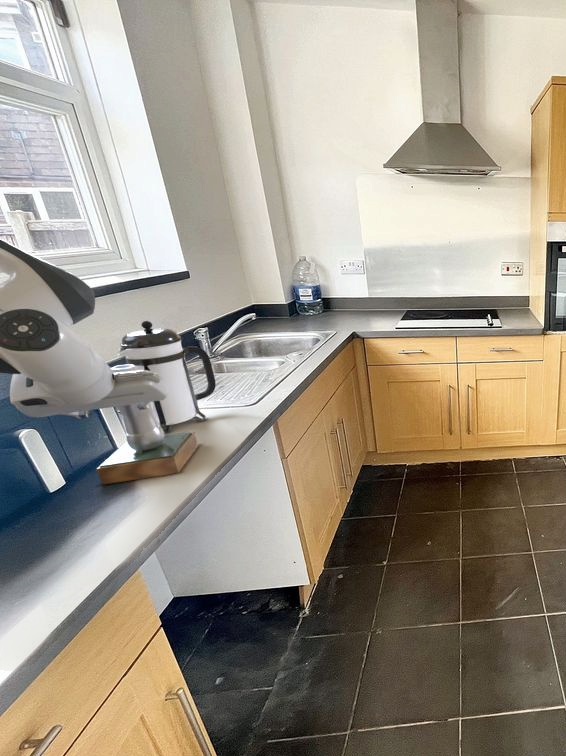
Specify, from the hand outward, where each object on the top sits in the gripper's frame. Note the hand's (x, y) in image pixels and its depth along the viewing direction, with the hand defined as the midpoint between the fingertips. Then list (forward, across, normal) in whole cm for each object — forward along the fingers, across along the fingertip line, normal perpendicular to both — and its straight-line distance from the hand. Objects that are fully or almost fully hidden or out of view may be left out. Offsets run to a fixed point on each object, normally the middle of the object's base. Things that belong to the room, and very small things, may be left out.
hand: (115, 410), depth 85 cm
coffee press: (+39, -1, -14) cm, 41 cm away
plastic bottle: (+17, 0, +3) cm, 17 cm away
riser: (+20, 0, +5) cm, 20 cm away
